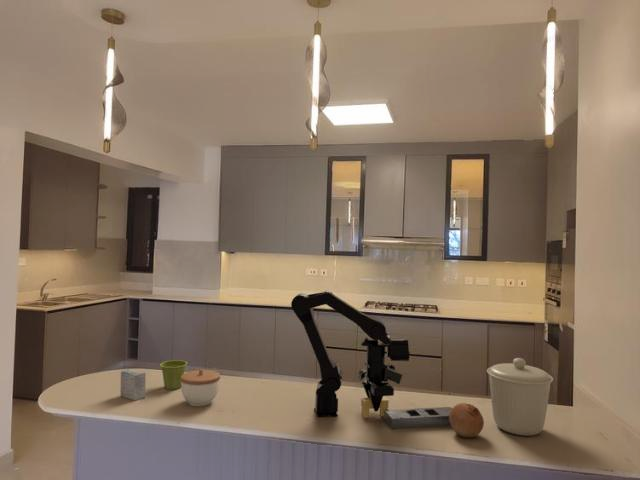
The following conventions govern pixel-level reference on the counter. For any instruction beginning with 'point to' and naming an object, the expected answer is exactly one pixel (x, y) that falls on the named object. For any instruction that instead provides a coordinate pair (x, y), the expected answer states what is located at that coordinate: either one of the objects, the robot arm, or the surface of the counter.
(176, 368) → the plant pot
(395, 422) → the rail
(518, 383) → the canister
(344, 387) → the counter surface
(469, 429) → the onion
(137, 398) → the medicine box
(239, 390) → the counter surface
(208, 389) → the lidded bowl
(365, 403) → the yellow rectangular block
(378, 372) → the robot arm
